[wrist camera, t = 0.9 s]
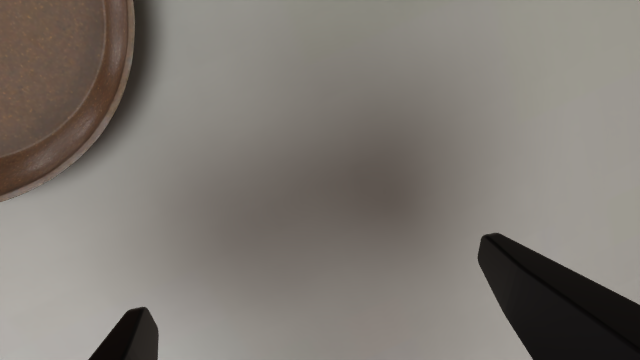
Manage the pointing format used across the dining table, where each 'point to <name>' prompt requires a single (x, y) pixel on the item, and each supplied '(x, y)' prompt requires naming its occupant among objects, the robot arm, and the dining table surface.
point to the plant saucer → (58, 83)
